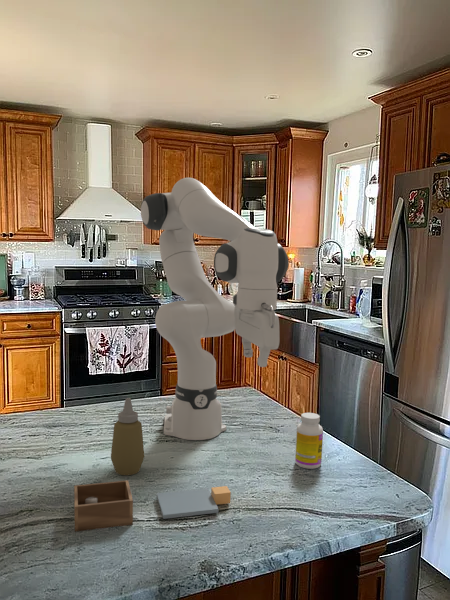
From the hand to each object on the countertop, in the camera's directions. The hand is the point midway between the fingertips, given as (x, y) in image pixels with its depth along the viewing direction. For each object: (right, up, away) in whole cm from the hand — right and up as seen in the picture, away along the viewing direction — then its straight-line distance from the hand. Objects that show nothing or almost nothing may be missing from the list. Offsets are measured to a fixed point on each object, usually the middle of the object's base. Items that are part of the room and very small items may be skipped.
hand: (254, 361), depth 119 cm
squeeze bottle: (-30, -28, +8) cm, 42 cm away
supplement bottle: (+14, -28, +15) cm, 35 cm away
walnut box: (-31, -30, -13) cm, 45 cm away
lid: (-13, -30, -8) cm, 34 cm away
